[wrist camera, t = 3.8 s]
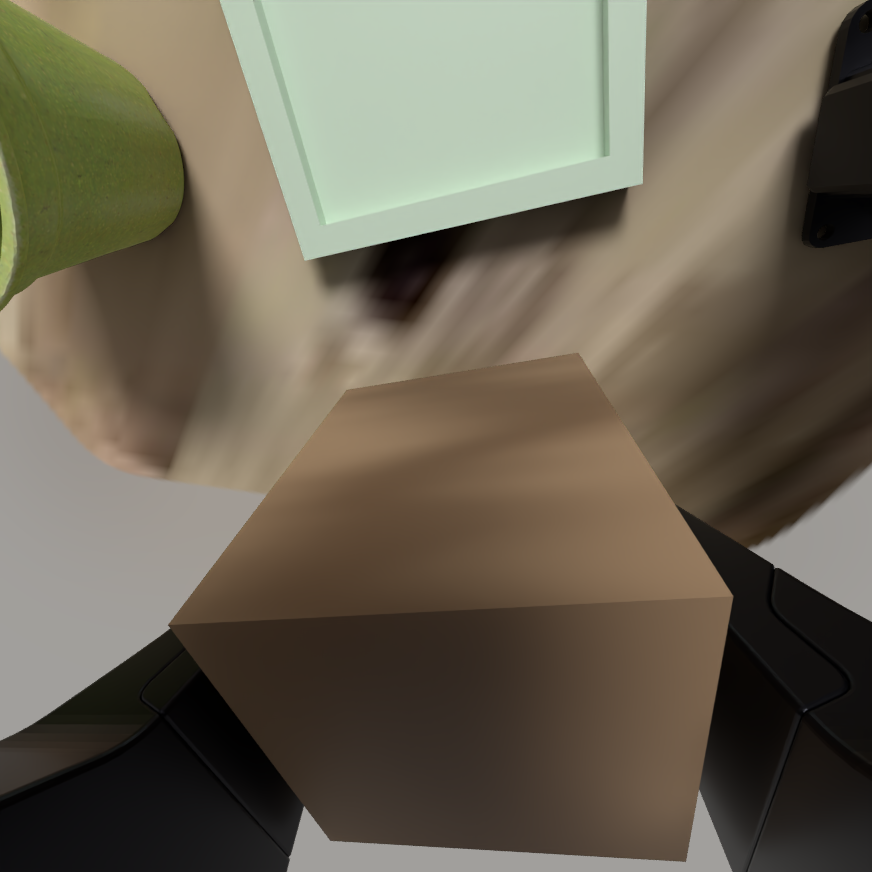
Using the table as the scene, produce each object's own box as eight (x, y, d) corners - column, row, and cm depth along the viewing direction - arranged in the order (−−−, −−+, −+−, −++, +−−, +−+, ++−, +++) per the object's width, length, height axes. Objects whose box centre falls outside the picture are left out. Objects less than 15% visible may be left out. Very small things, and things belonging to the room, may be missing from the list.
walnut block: (578, 352, 8) (733, 596, 3) (587, 540, 11) (685, 861, 5) (346, 390, 9) (168, 624, 4) (400, 554, 12) (330, 840, 6)
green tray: (633, -427, 9) (657, -530, 8) (628, 185, 15) (642, 183, 13) (176, -201, 12) (136, -253, 10) (318, 256, 17) (304, 260, 16)
